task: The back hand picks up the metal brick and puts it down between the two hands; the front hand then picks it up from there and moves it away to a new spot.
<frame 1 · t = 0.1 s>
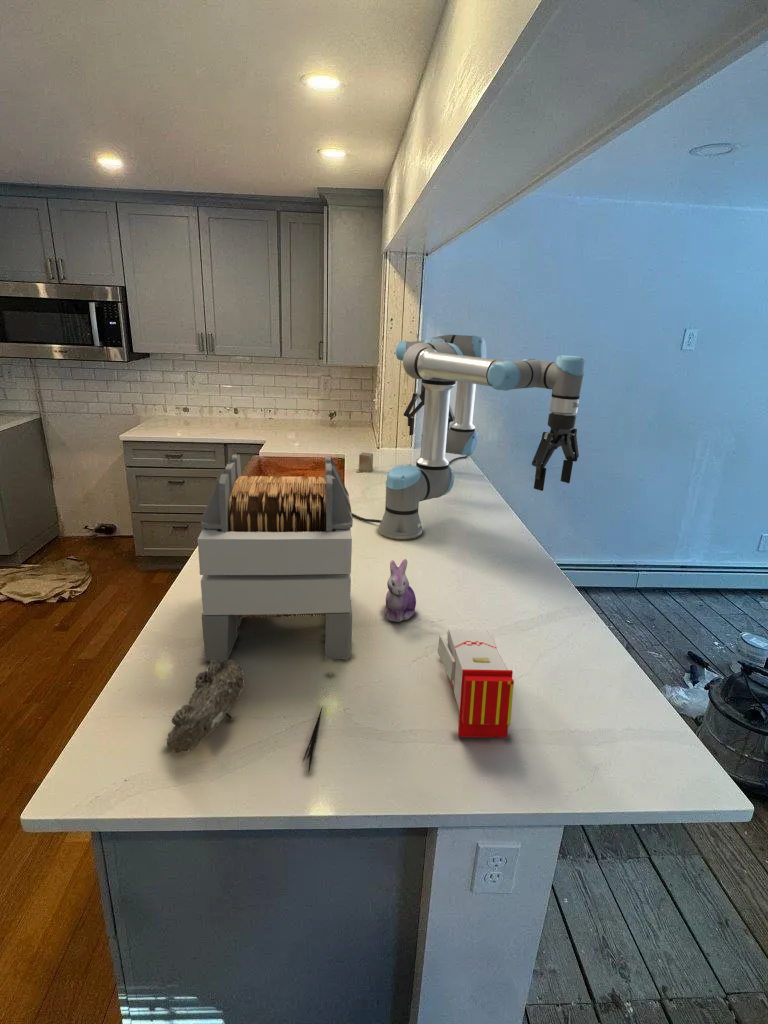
front hand: (552, 485, 166), 28 cm above the counter, tool pointing down, fingers open, 13 cm apart
back hand: (427, 436, 222), 28 cm above the counter, tool pointing down, fingers open, 13 cm apart
fossil: (212, 717, 108), on the counter
toy: (469, 691, 119), on the counter
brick: (365, 470, 276), on the counter
figurine: (399, 614, 147), on the counter
record storage crate: (282, 622, 141), on the counter
feather: (319, 719, 109), on the counter
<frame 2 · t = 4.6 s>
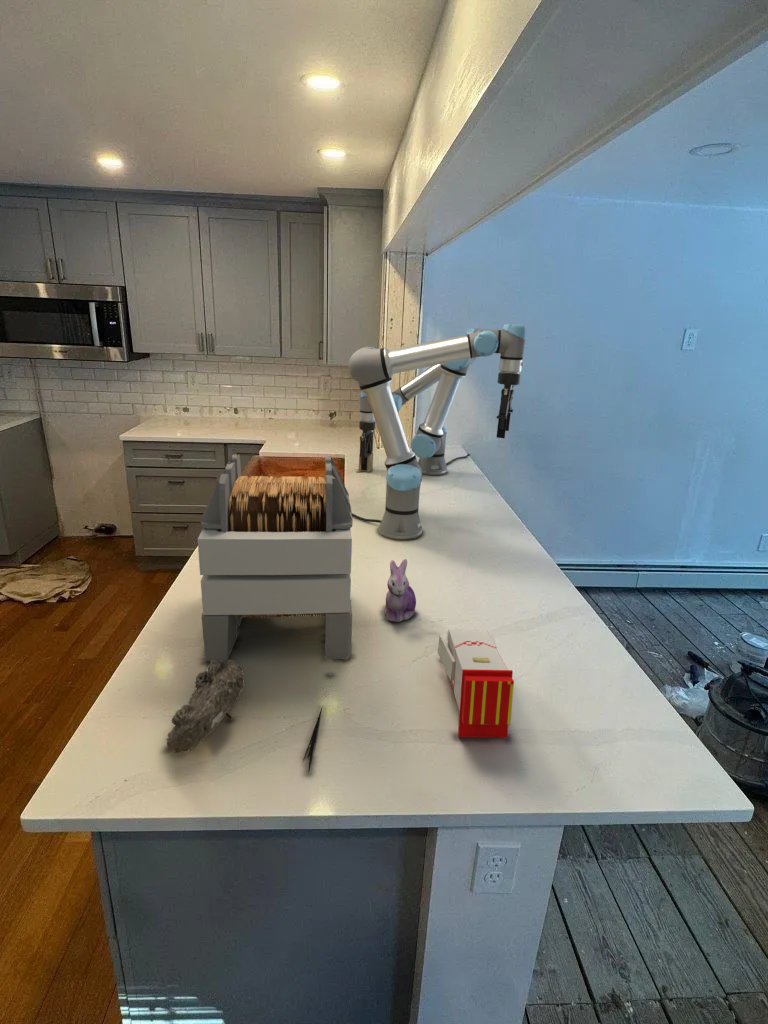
front hand: (502, 434, 199), 35 cm above the counter, tool pointing down, fingers open, 13 cm apart
back hand: (365, 468, 276), 1 cm above the counter, tool pointing down, fingers closed on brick, 5 cm apart
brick: (365, 470, 276), on the counter, touching back hand
everything else where it was.
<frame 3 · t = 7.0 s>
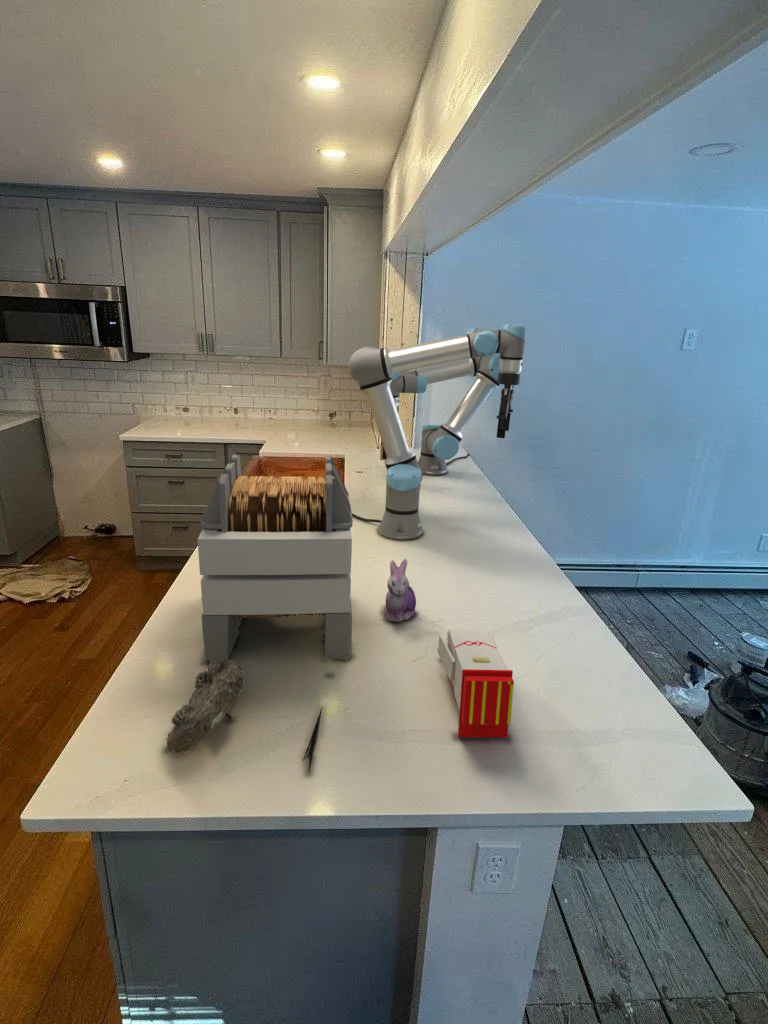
front hand: (502, 434, 199), 35 cm above the counter, tool pointing down, fingers open, 13 cm apart
back hand: (387, 457, 257), 11 cm above the counter, tool pointing down, fingers closed on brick, 5 cm apart
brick: (387, 459, 258), point 10 cm above the counter, touching back hand
everything else where it was.
when the back hand's fingers open (2 cm above the counter, at t = 9.6 s): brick drops 1 cm, on the counter.
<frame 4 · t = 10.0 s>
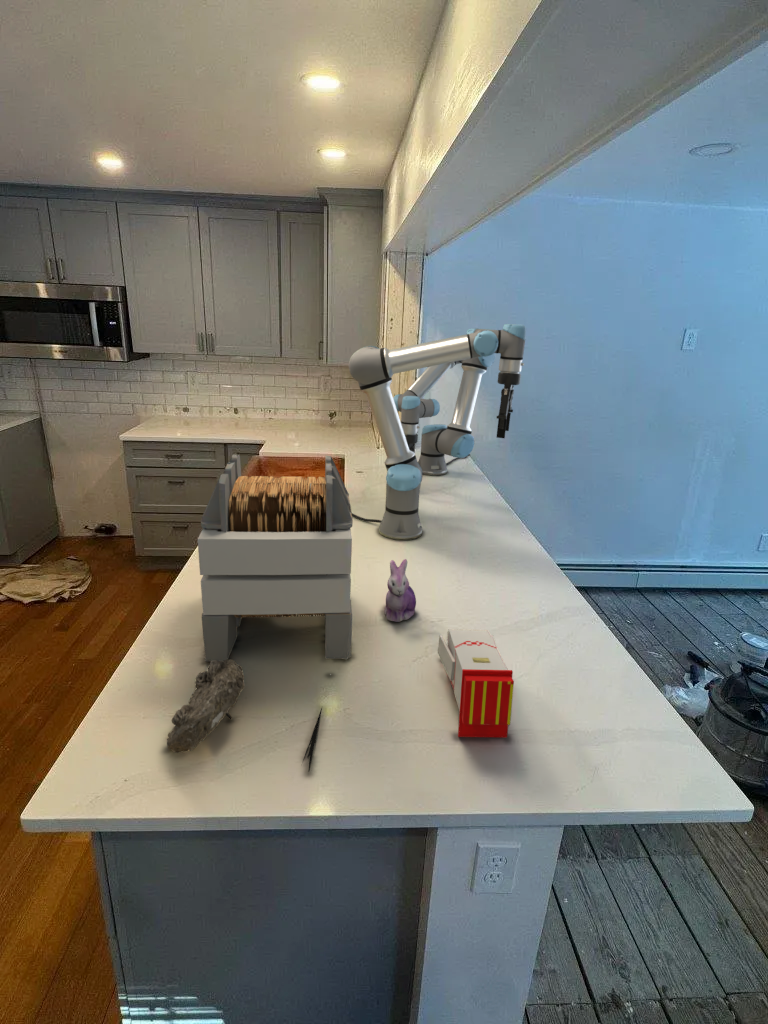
front hand: (502, 434, 199), 35 cm above the counter, tool pointing down, fingers open, 13 cm apart
back hand: (406, 483, 248), 3 cm above the counter, tool pointing down, fingers open, 10 cm apart
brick: (405, 489, 249), on the counter
everything else where it was.
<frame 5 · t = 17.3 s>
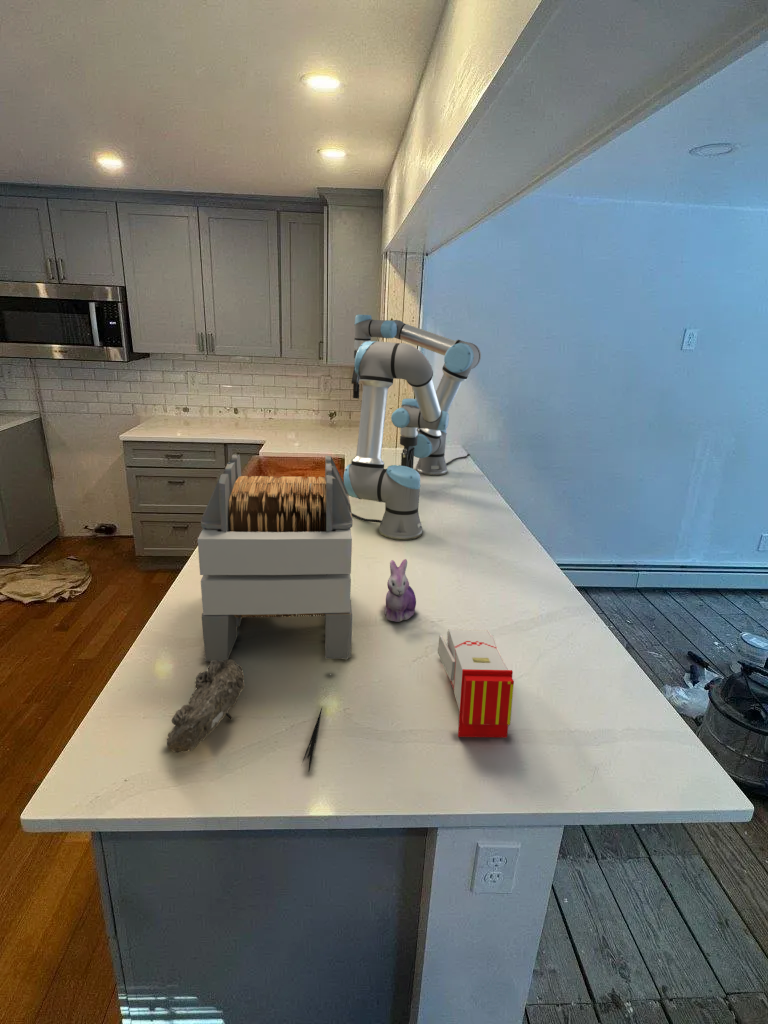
front hand: (405, 487, 249), 1 cm above the counter, tool pointing down, fingers closed on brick, 5 cm apart
back hand: (360, 396, 268), 35 cm above the counter, tool pointing down, fingers open, 13 cm apart
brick: (405, 489, 249), on the counter, touching front hand
everything else where it was.
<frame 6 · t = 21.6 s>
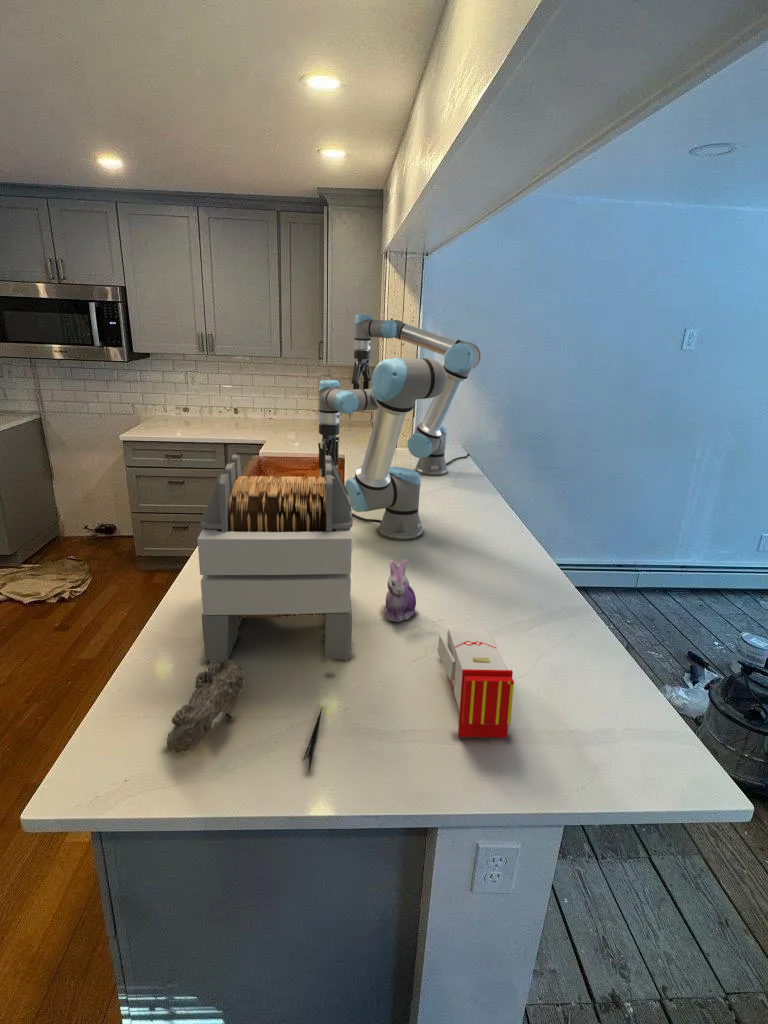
front hand: (328, 483, 216), 11 cm above the counter, tool pointing down, fingers closed on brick, 5 cm apart
back hand: (360, 396, 268), 35 cm above the counter, tool pointing down, fingers open, 13 cm apart
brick: (328, 485, 216), point 10 cm above the counter, touching front hand
everything else where it was.
when the front hand's fingers open (2 cm above the counter, at t = 25.8 s): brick stays where it is, on the counter.
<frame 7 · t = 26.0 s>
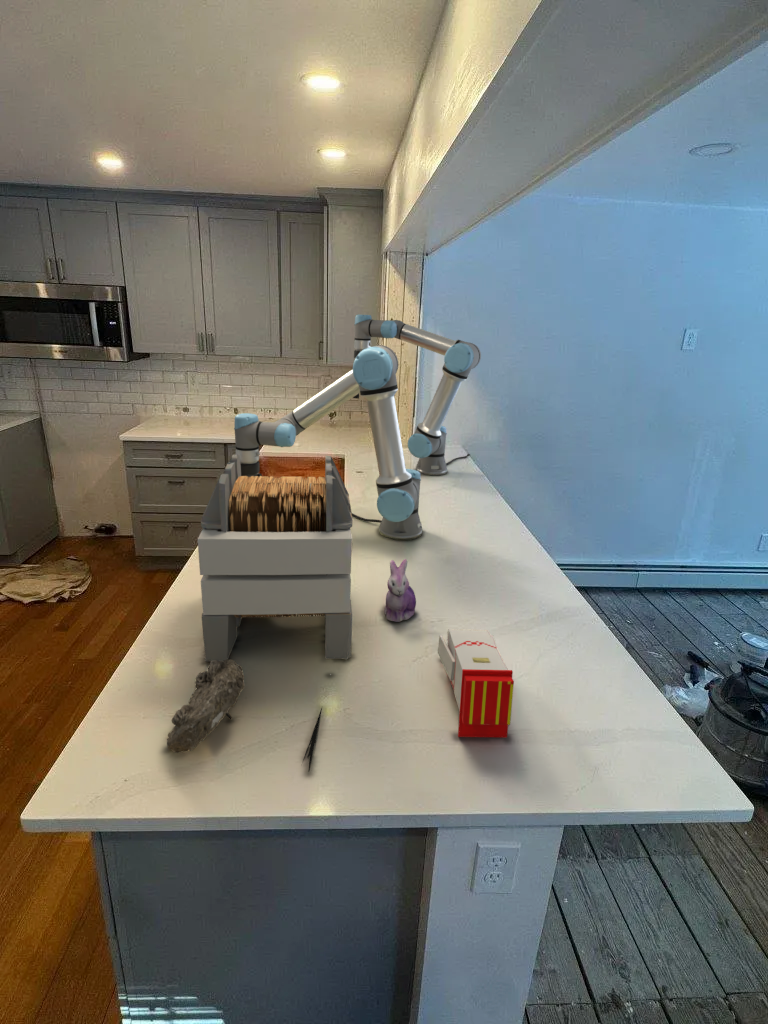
front hand: (250, 525, 195), 2 cm above the counter, tool pointing down, fingers open, 8 cm apart
back hand: (360, 396, 268), 35 cm above the counter, tool pointing down, fingers open, 13 cm apart
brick: (250, 531, 196), on the counter
everything else where it was.
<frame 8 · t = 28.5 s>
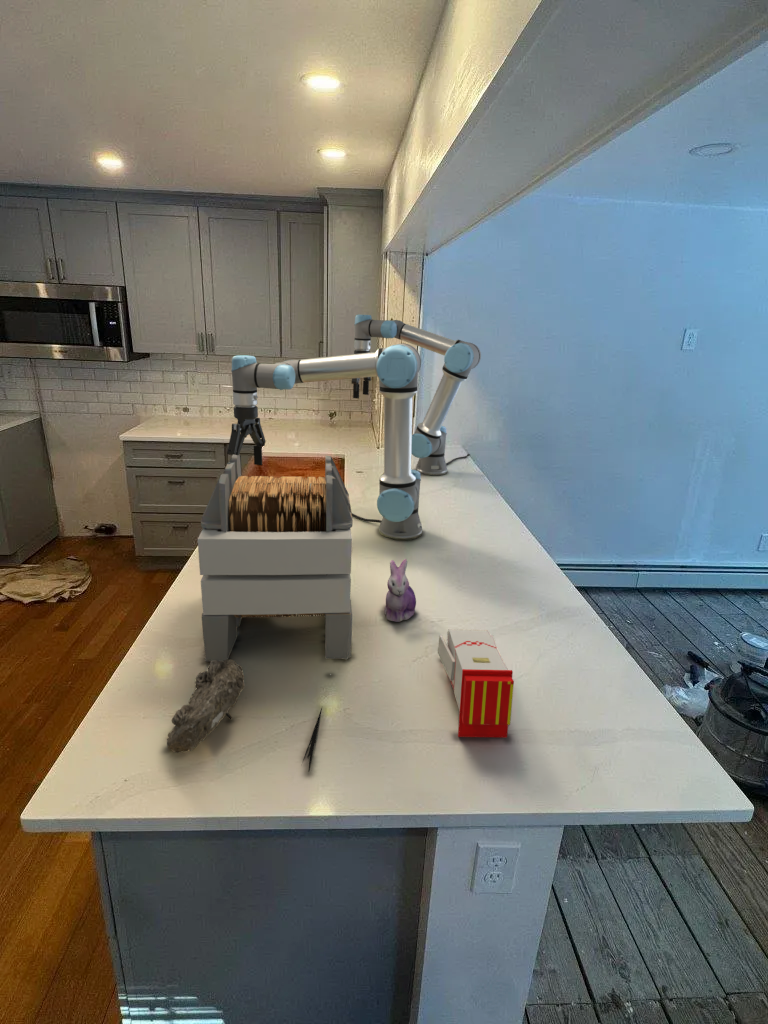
front hand: (248, 469, 189), 22 cm above the counter, tool pointing down, fingers open, 13 cm apart
back hand: (360, 396, 268), 35 cm above the counter, tool pointing down, fingers open, 13 cm apart
nothing on the counter moved.
at the end: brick inside the target area (0.0 cm from its centre), on the counter; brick tilted 0°; the two hands never held the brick at the same time; the front hand is holding nothing; the back hand is holding nothing; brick at rest at the end (0.0 cm/s) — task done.
